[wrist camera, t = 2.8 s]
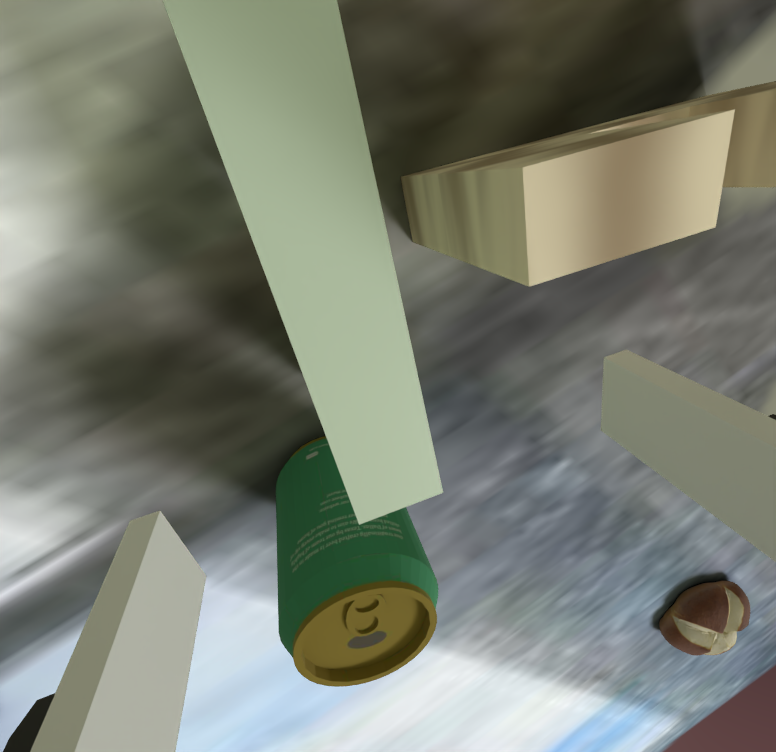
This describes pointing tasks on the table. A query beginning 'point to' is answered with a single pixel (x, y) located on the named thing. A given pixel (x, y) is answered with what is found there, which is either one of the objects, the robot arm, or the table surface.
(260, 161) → the pale green rectangular block
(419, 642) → the beverage can
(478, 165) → the wooden block structure
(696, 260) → the table surface
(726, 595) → the bread
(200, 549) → the table surface
